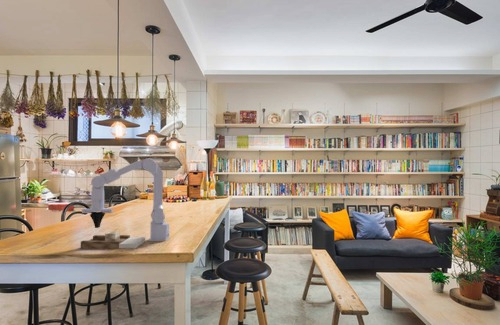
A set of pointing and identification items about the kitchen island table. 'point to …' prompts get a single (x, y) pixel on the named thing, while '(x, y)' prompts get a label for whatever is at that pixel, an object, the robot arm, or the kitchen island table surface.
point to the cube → (112, 236)
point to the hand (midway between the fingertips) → (97, 227)
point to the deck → (113, 242)
